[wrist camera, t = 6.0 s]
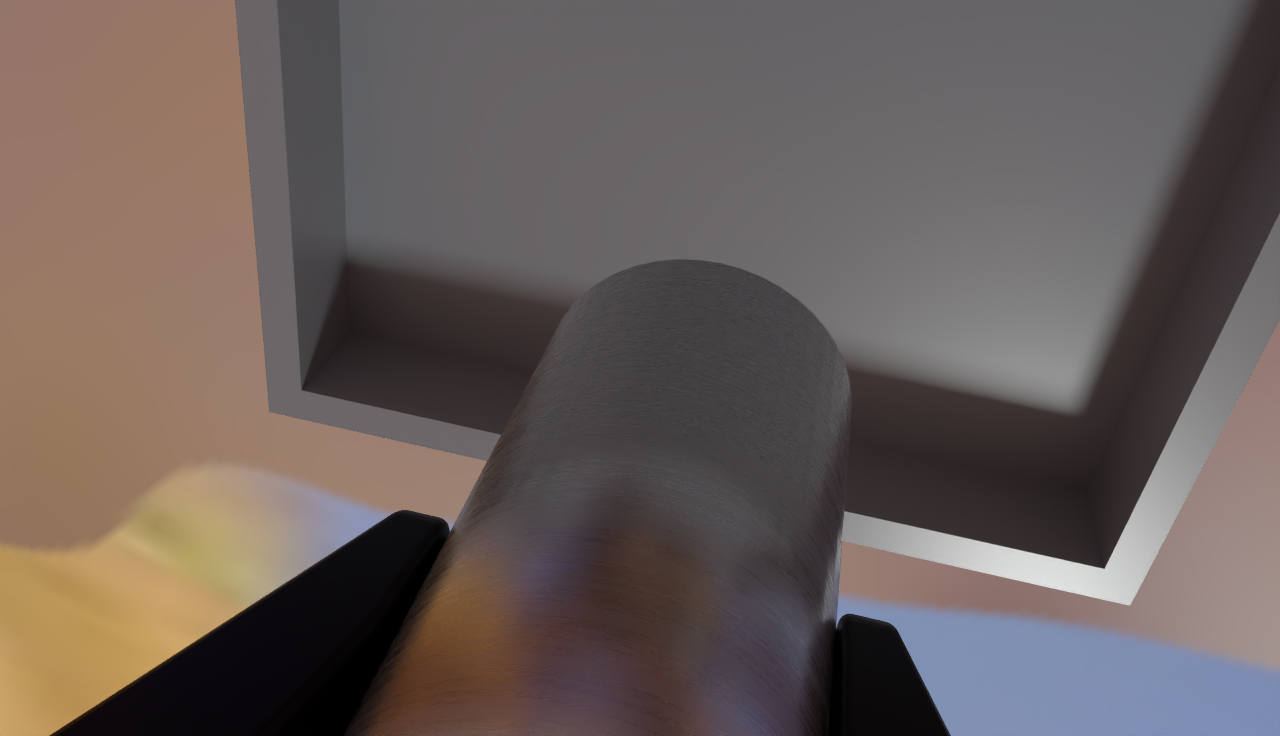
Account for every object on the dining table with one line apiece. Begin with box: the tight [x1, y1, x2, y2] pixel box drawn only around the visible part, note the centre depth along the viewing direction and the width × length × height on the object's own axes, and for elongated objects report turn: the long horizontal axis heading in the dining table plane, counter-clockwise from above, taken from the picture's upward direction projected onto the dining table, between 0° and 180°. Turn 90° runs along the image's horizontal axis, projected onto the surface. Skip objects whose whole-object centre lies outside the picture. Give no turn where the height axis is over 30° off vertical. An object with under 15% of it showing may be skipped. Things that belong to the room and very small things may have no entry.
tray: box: [235, 0, 1280, 605], centre depth 16 cm, size 14×10×2 cm
